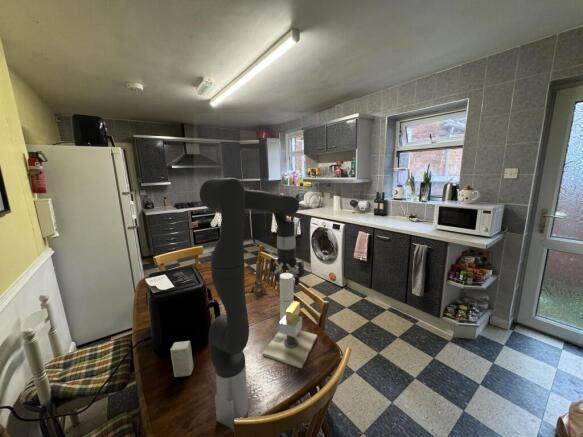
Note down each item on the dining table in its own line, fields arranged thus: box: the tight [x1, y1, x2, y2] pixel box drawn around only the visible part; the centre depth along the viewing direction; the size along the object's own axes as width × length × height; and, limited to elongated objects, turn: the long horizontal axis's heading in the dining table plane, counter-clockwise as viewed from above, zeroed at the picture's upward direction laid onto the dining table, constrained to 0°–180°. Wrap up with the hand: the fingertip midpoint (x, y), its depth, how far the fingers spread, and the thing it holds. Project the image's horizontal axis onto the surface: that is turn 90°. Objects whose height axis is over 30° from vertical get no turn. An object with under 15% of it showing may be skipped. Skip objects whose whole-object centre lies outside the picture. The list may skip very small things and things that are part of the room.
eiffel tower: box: [249, 256, 268, 298], centre depth 153 cm, size 11×11×25 cm
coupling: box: [278, 300, 303, 337], centre depth 105 cm, size 11×8×10 cm
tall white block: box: [279, 272, 295, 321], centre depth 123 cm, size 7×7×25 cm
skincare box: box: [169, 340, 194, 378], centre depth 91 cm, size 6×4×12 cm
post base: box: [262, 329, 318, 369], centre depth 105 cm, size 20×18×11 cm
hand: (287, 283), depth 97 cm, fingers open, 8 cm apart
